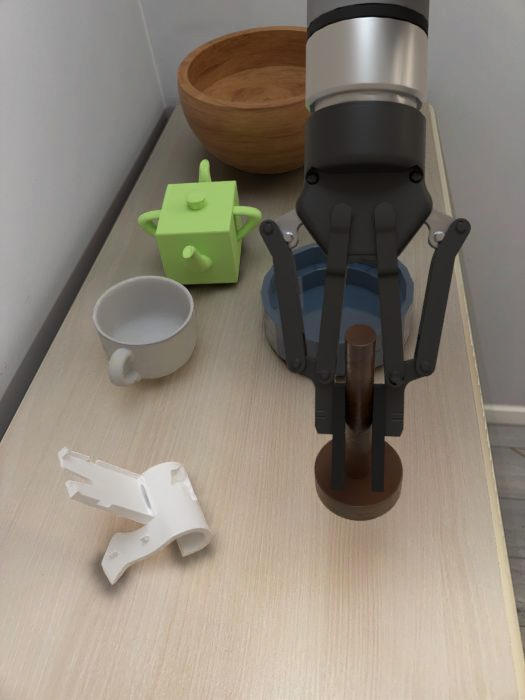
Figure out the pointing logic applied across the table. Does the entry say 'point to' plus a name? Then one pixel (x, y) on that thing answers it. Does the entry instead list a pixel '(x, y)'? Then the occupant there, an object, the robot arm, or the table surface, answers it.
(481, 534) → the table surface
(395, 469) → the wooden stand
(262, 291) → the mixing bowl
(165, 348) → the teacup
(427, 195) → the robot arm
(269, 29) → the bowl
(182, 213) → the teapot
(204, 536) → the plastic part
